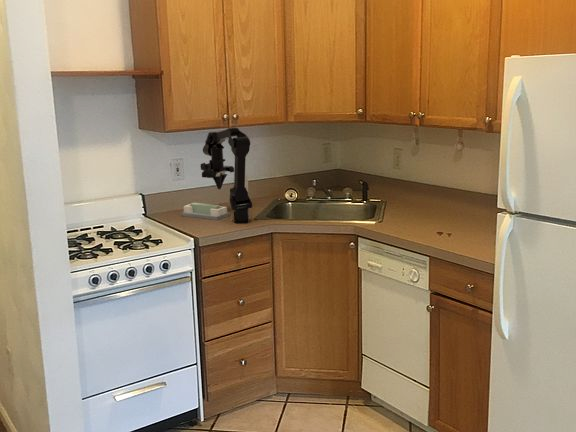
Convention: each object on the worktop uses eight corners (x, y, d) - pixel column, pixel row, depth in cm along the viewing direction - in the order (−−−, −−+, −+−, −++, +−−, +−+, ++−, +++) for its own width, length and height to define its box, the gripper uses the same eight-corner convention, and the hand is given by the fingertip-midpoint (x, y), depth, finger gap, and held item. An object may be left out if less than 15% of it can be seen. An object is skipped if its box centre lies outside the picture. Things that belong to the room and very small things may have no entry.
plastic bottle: (242, 208, 333) (239, 169, 328) (234, 206, 338) (232, 167, 334) (252, 206, 337) (250, 167, 332) (245, 204, 342) (243, 166, 337)
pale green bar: (220, 213, 317) (219, 205, 316) (216, 214, 315) (215, 206, 314) (194, 210, 326) (194, 202, 325) (190, 211, 323) (190, 203, 322)
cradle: (229, 215, 319) (229, 206, 318) (217, 220, 311) (216, 210, 310) (194, 211, 331) (194, 202, 330) (181, 215, 322) (180, 206, 321)
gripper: (216, 154, 330) (218, 184, 334) (191, 159, 315) (194, 191, 319) (233, 155, 325) (235, 186, 328) (210, 160, 309) (212, 193, 313)
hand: (219, 189), depth 322 cm, fingers closed
